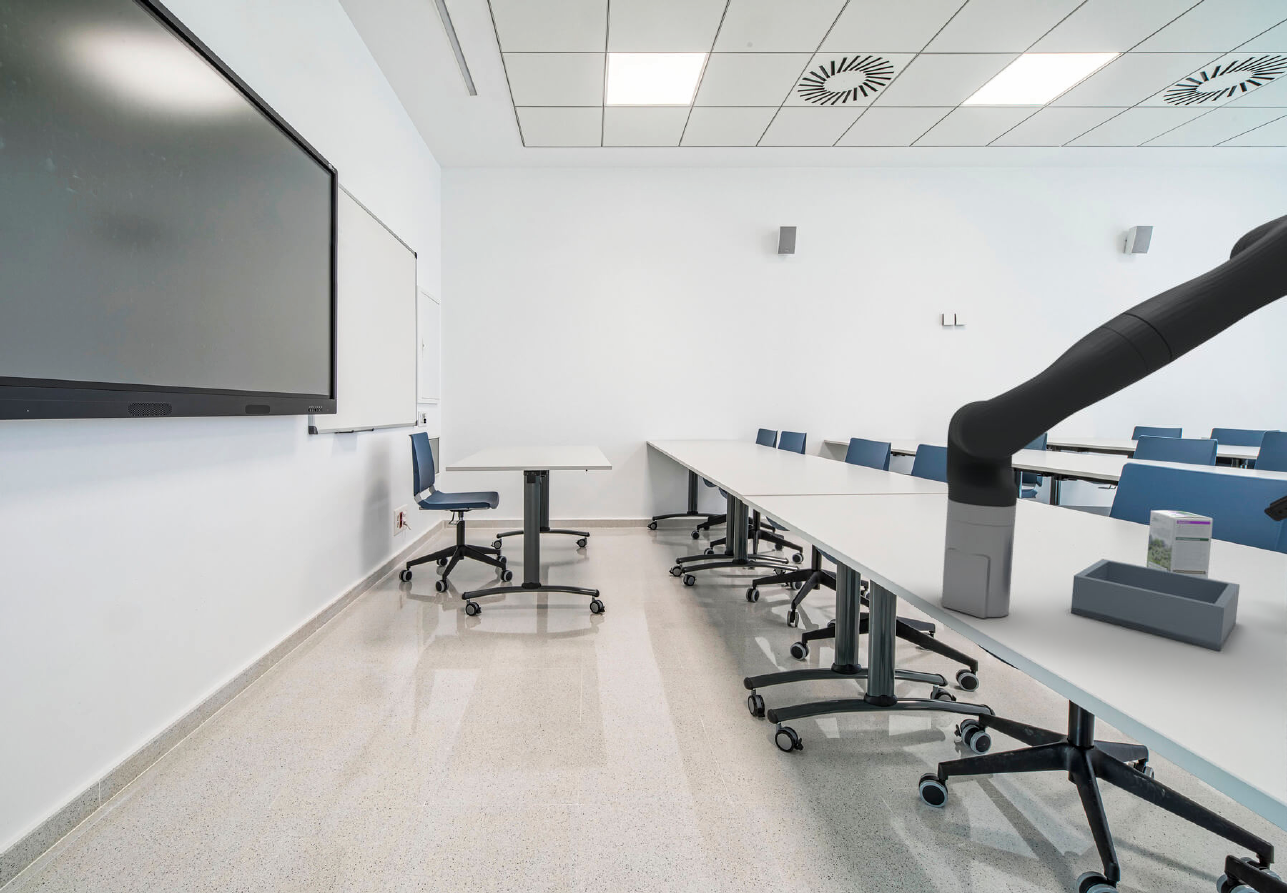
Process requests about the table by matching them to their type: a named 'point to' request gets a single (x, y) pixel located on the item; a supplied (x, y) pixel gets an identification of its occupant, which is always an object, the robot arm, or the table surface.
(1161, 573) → the tote
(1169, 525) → the syrup box
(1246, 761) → the table surface
